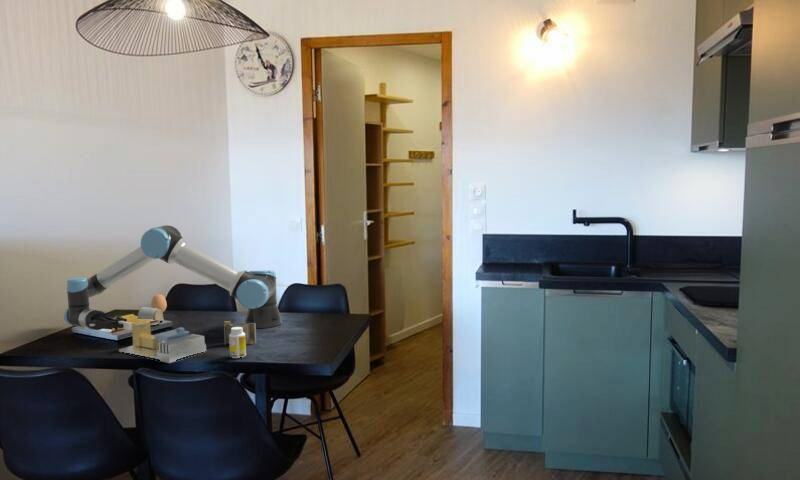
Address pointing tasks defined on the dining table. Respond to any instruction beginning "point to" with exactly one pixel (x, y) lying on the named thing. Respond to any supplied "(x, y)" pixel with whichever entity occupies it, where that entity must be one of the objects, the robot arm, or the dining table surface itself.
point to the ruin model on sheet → (247, 329)
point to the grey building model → (171, 346)
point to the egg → (159, 302)
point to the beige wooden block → (144, 335)
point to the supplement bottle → (237, 342)
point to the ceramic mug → (150, 313)
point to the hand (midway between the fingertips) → (130, 326)
